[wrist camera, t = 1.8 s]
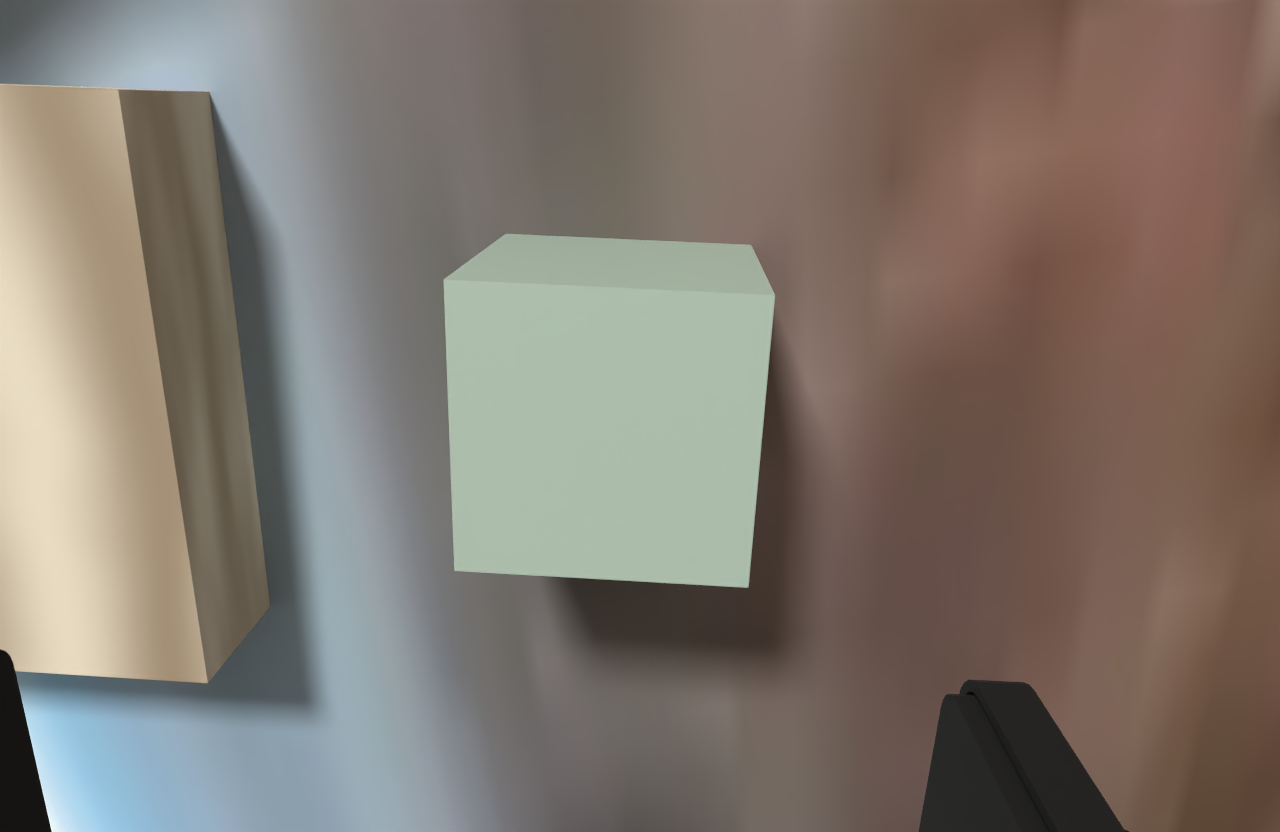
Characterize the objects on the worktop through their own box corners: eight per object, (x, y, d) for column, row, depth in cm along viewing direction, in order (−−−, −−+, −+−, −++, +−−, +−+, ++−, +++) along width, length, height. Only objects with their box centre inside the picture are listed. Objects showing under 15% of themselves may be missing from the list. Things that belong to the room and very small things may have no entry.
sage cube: (750, 244, 21) (774, 295, 16) (733, 471, 23) (748, 587, 18) (506, 233, 22) (444, 279, 16) (509, 459, 24) (454, 570, 18)
